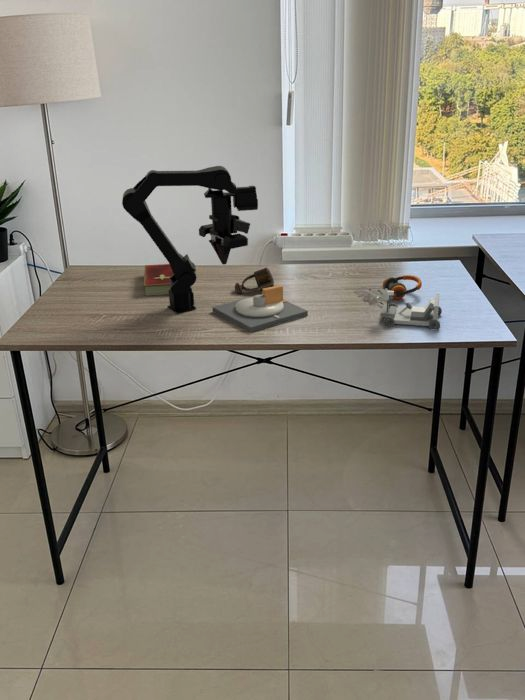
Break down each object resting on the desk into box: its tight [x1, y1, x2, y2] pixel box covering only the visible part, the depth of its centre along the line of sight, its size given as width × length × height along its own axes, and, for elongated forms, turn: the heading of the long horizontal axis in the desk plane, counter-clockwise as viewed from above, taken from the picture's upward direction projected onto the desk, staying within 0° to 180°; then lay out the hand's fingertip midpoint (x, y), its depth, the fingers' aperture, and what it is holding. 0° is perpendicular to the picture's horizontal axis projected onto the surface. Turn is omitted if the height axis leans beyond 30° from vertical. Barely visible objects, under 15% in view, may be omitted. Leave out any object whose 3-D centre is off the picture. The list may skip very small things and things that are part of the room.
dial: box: [236, 284, 284, 317], centre depth 213 cm, size 14×14×6 cm
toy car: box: [376, 289, 443, 331], centre depth 206 cm, size 18×10×12 cm
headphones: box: [354, 274, 423, 306], centre depth 225 cm, size 16×5×20 cm
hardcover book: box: [143, 263, 174, 297], centre depth 241 cm, size 12×21×4 cm, turn 7°
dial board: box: [212, 293, 309, 333], centre depth 215 cm, size 20×20×2 cm
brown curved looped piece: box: [234, 267, 275, 295], centre depth 232 cm, size 7×13×10 cm
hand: (224, 264), depth 217 cm, fingers closed
